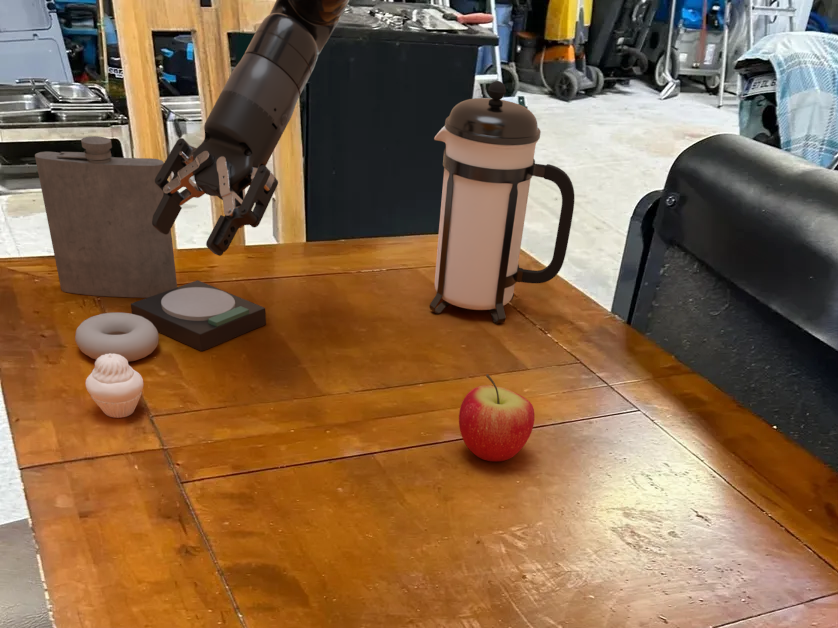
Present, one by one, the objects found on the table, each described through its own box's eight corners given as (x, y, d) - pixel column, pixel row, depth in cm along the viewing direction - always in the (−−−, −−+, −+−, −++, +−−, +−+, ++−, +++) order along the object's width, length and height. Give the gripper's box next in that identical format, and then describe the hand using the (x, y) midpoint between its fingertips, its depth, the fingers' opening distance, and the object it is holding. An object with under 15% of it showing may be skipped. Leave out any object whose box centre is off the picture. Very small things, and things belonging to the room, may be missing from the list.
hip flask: (179, 288, 129) (162, 138, 115) (175, 300, 126) (158, 147, 112) (63, 283, 126) (33, 129, 113) (57, 295, 123) (26, 138, 110)
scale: (132, 320, 119) (129, 299, 117) (199, 296, 127) (197, 275, 125) (201, 351, 114) (199, 329, 113) (266, 324, 122) (265, 303, 120)
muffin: (152, 420, 101) (144, 363, 96) (96, 428, 98) (85, 370, 94) (141, 394, 105) (132, 339, 100) (86, 402, 102) (75, 345, 98)
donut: (153, 330, 118) (73, 335, 114) (150, 305, 116) (68, 309, 112) (166, 364, 111) (82, 370, 108) (164, 338, 109) (77, 344, 105)
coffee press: (458, 335, 126) (484, 98, 106) (405, 292, 136) (420, 68, 116) (557, 319, 133) (598, 96, 114) (500, 279, 143) (529, 67, 123)
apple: (451, 434, 105) (460, 355, 98) (521, 436, 106) (535, 359, 99) (458, 472, 99) (468, 391, 92) (532, 474, 100) (547, 394, 93)
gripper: (187, 75, 98) (119, 204, 98) (283, 102, 93) (212, 239, 93) (225, 121, 105) (162, 241, 105) (317, 149, 100) (250, 276, 100)
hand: (185, 240), depth 99 cm, fingers open, 8 cm apart
